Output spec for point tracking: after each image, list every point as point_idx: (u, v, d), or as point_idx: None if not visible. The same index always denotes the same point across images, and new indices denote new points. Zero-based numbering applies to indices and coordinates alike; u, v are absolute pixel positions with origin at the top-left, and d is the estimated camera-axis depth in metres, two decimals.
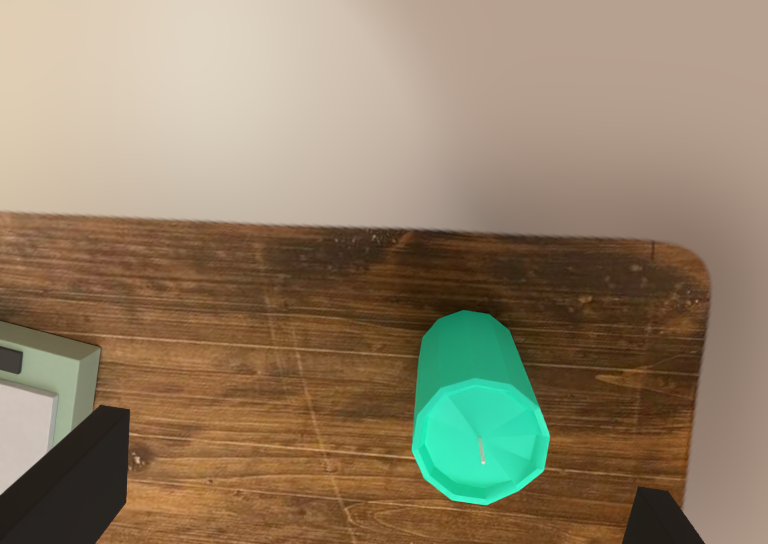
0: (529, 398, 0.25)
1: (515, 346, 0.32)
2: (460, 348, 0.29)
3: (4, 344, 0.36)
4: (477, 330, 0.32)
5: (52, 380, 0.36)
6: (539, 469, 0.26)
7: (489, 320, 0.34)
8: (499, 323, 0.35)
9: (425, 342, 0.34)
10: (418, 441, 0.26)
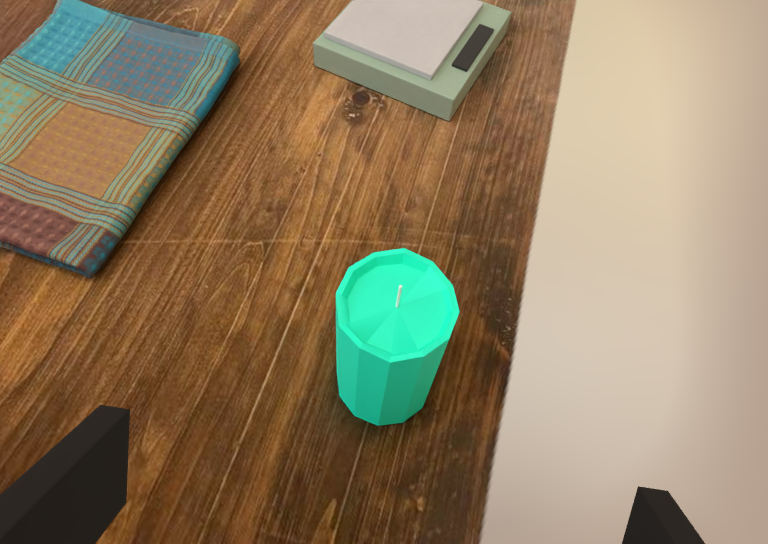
0: (432, 351, 0.27)
1: (408, 407, 0.33)
2: None
3: (474, 64, 0.49)
4: None
5: (442, 80, 0.48)
6: (361, 344, 0.27)
7: (425, 399, 0.35)
8: (413, 413, 0.36)
9: None
10: (410, 255, 0.30)
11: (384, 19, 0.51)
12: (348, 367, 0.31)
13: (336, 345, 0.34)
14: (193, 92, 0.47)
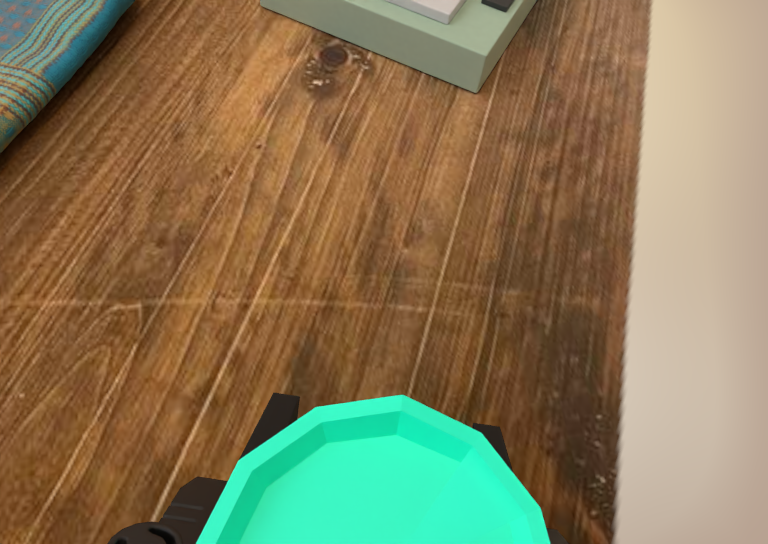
0: None
1: None
2: None
3: (517, 1, 0.30)
4: None
5: (466, 25, 0.29)
6: None
7: None
8: None
9: None
10: (420, 416, 0.10)
11: None
12: None
13: None
14: (47, 39, 0.28)
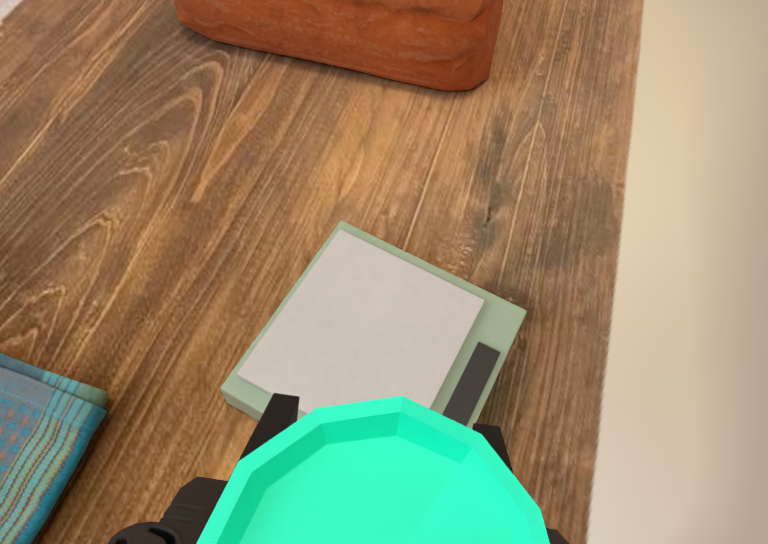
0: None
1: None
2: None
3: (468, 427, 0.32)
4: None
5: None
6: None
7: None
8: None
9: None
10: (419, 417, 0.10)
11: (332, 342, 0.33)
12: None
13: None
14: (18, 495, 0.29)
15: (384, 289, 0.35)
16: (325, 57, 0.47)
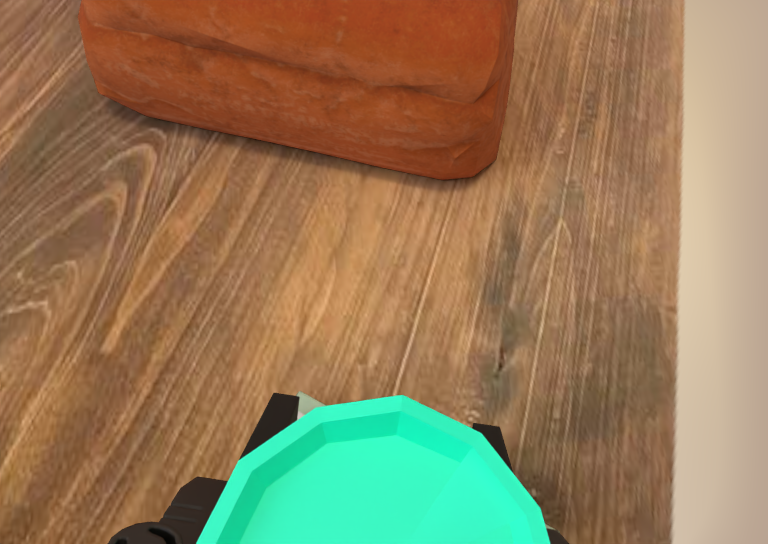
0: None
1: None
2: None
3: None
4: None
5: None
6: None
7: None
8: None
9: None
10: (420, 417, 0.10)
11: None
12: None
13: None
14: None
15: None
16: (286, 140, 0.37)
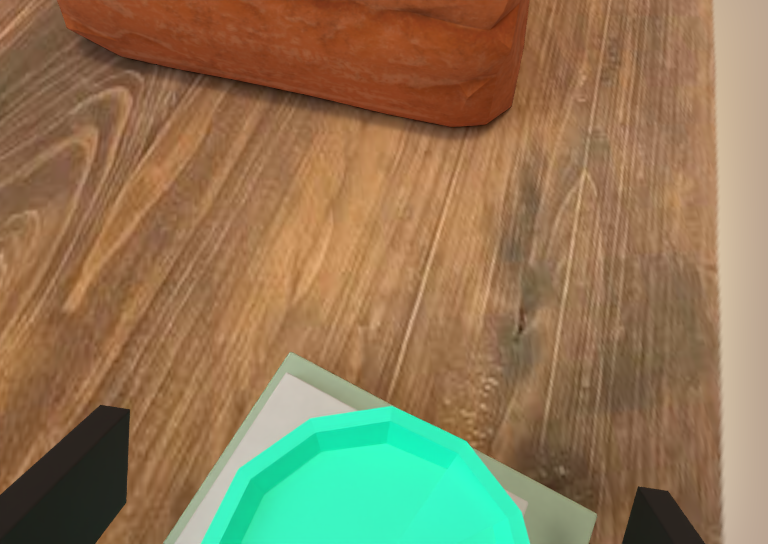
0: None
1: None
2: None
3: None
4: None
5: None
6: None
7: None
8: None
9: None
10: (408, 426, 0.11)
11: None
12: None
13: None
14: None
15: None
16: (278, 80, 0.33)
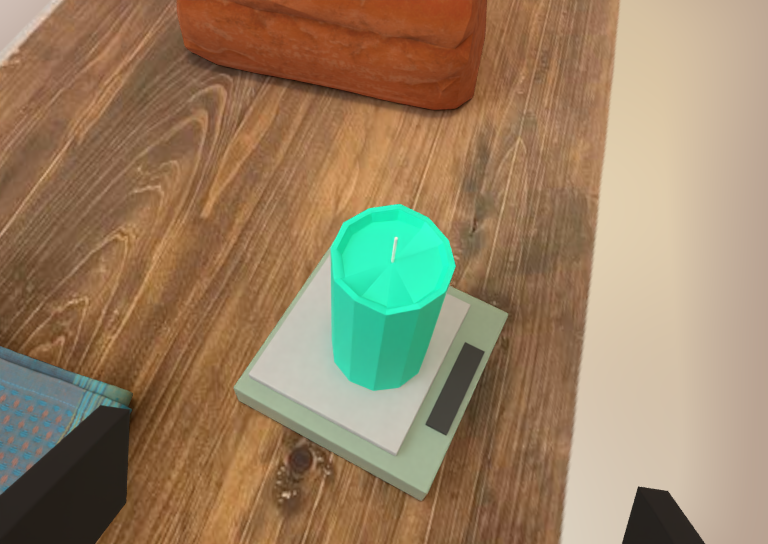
0: (428, 304, 0.27)
1: (404, 369, 0.33)
2: None
3: (456, 418, 0.36)
4: (431, 336, 0.34)
5: (411, 455, 0.34)
6: (356, 297, 0.27)
7: (421, 363, 0.35)
8: (409, 378, 0.36)
9: None
10: (406, 210, 0.29)
11: None
12: (343, 326, 0.30)
13: (331, 307, 0.33)
14: None
15: None
16: (321, 80, 0.51)
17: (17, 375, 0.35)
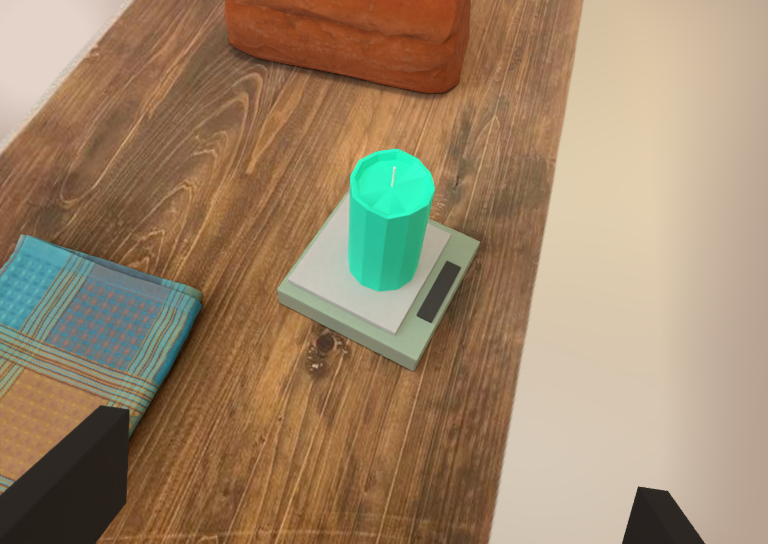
0: (416, 212, 0.40)
1: (400, 271, 0.46)
2: None
3: (439, 312, 0.49)
4: (420, 248, 0.47)
5: (405, 336, 0.47)
6: (368, 207, 0.40)
7: (413, 271, 0.48)
8: (405, 283, 0.49)
9: None
10: (401, 153, 0.42)
11: None
12: (358, 234, 0.44)
13: None
14: (153, 352, 0.46)
15: None
16: (338, 69, 0.64)
17: (120, 279, 0.49)
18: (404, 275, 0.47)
